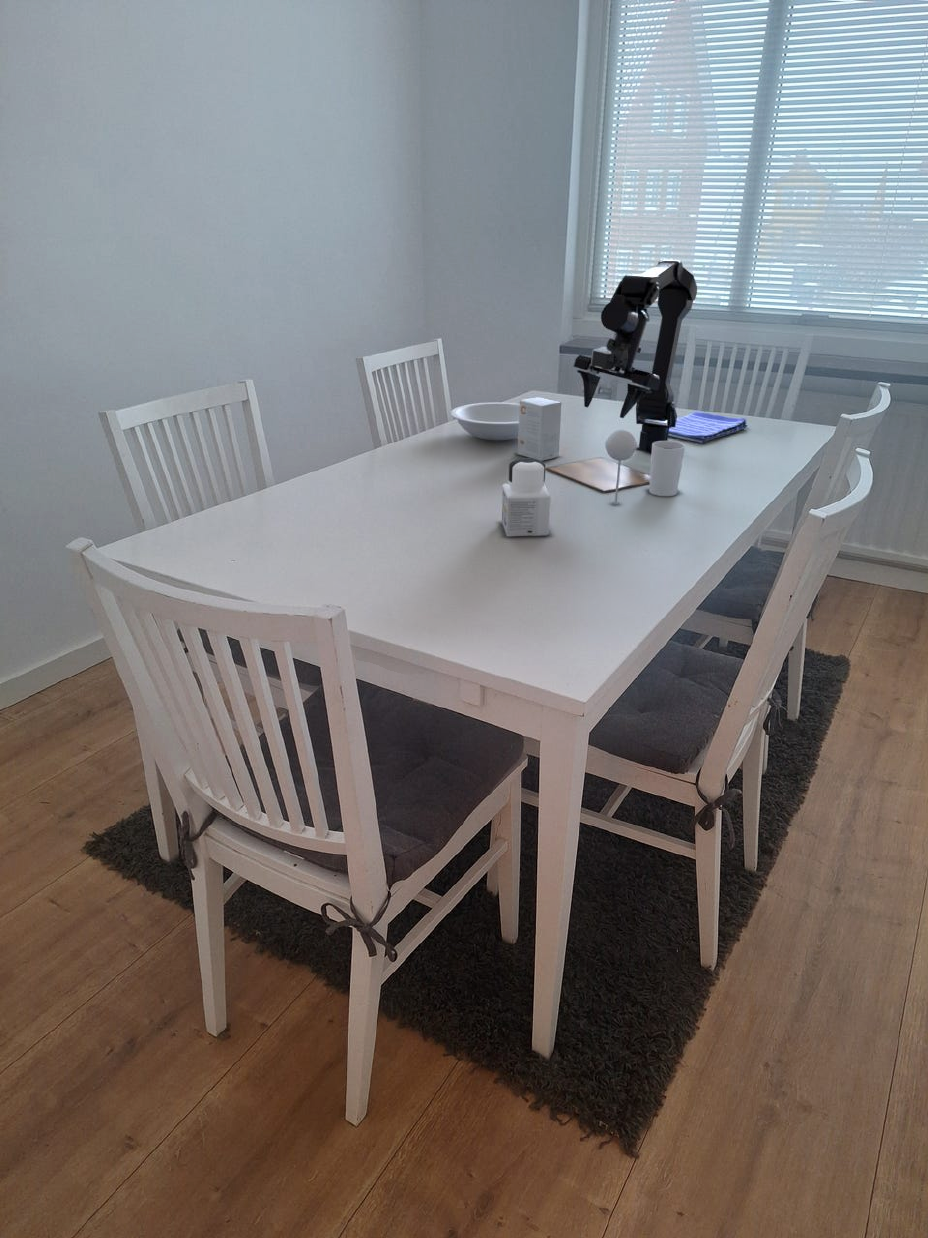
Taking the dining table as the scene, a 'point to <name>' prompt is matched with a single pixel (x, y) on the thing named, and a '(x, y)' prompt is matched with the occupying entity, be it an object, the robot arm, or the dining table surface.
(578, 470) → the glossy brown placemat
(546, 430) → the small box
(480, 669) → the dining table surface
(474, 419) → the soup bowl
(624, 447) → the lollipop
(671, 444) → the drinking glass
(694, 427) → the dish towel
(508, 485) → the container
